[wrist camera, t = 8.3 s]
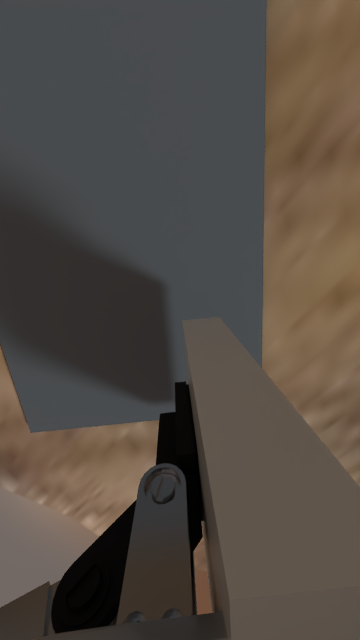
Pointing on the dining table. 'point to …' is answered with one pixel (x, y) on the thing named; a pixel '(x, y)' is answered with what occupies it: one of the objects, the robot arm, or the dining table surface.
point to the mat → (126, 197)
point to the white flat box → (269, 501)
